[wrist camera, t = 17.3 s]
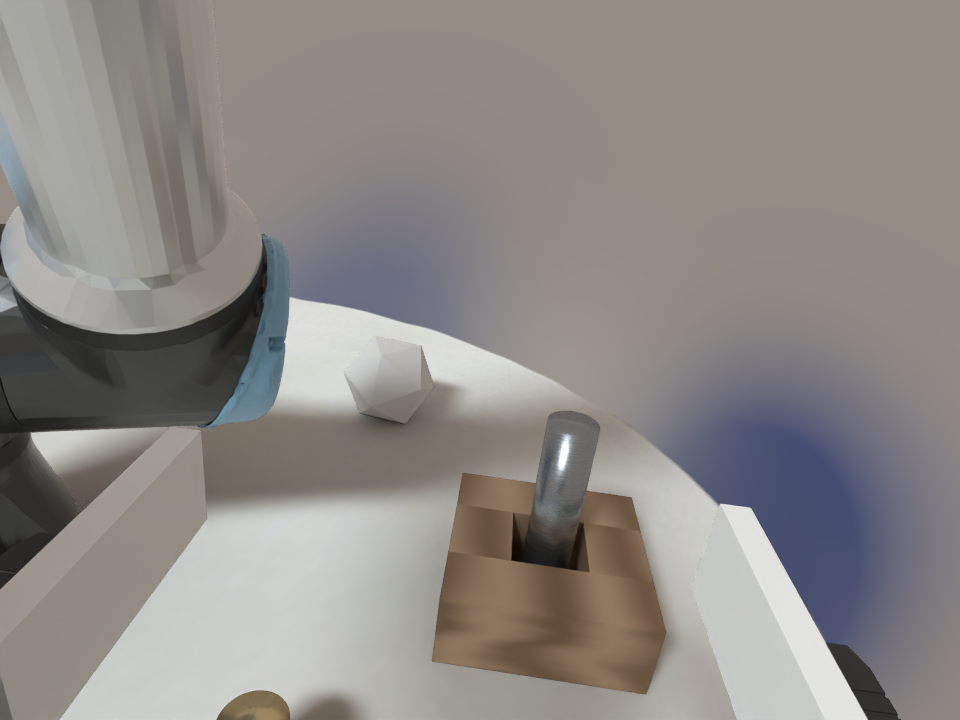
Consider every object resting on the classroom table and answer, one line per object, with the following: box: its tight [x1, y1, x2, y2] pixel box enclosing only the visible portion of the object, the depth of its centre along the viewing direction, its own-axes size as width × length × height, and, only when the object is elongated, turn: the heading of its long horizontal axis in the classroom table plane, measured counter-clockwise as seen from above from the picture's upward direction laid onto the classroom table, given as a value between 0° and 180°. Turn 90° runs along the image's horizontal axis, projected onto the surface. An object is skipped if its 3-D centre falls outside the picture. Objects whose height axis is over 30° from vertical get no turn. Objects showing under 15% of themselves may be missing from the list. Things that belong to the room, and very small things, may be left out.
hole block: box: [432, 473, 666, 694], centre depth 42 cm, size 13×13×5 cm
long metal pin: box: [521, 411, 600, 569], centre depth 40 cm, size 3×3×14 cm
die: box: [344, 336, 434, 424], centre depth 63 cm, size 8×9×10 cm
